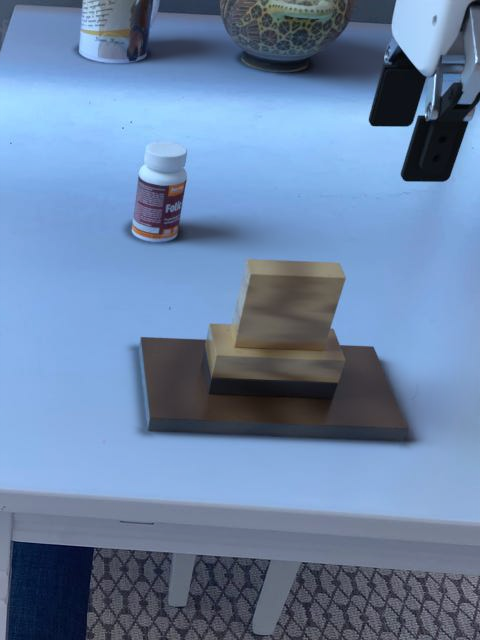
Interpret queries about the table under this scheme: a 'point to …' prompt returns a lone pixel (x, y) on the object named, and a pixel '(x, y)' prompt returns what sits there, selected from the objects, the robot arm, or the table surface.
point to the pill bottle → (160, 192)
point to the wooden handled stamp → (279, 333)
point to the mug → (116, 29)
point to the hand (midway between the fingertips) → (405, 151)
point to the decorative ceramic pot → (284, 29)
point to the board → (266, 399)
